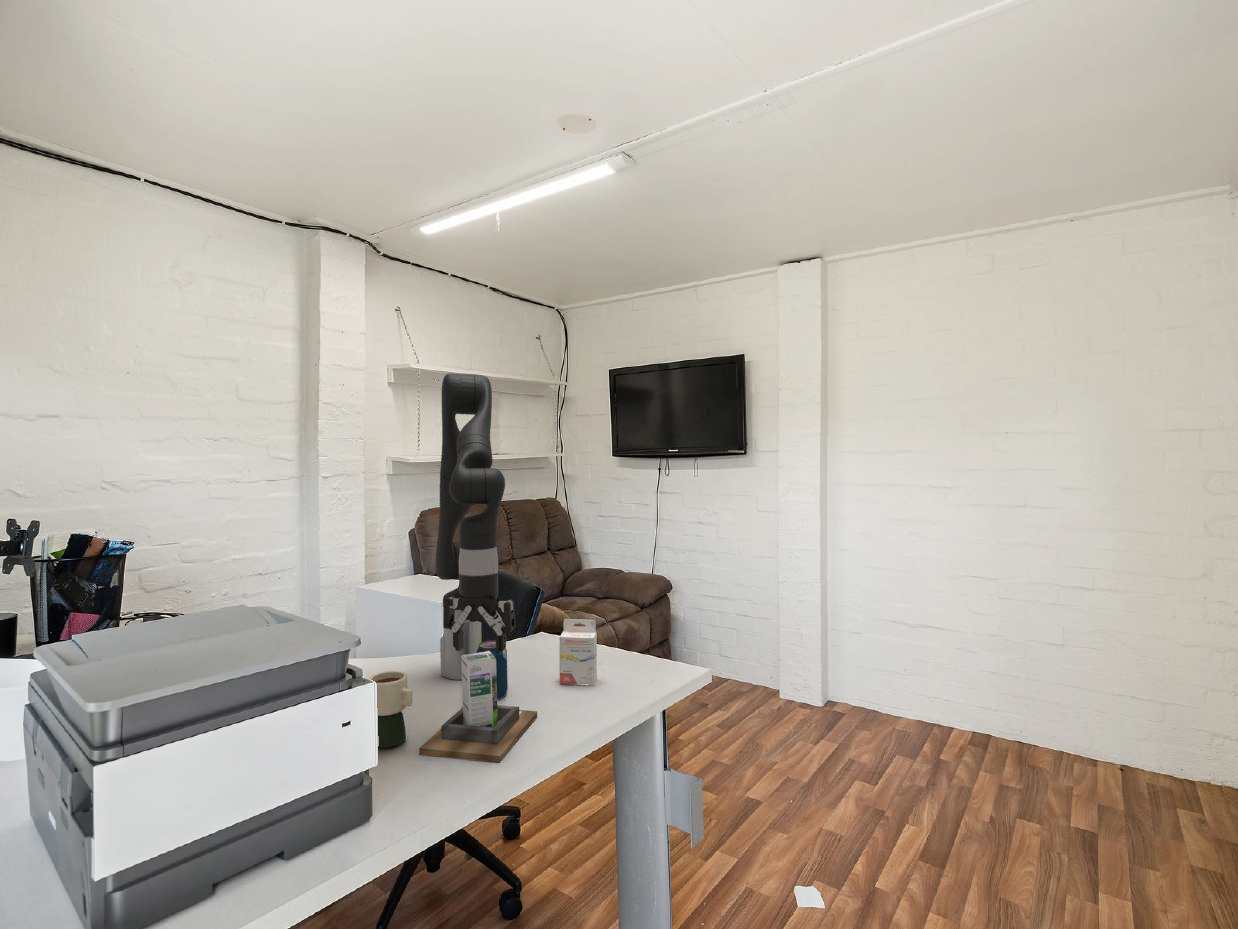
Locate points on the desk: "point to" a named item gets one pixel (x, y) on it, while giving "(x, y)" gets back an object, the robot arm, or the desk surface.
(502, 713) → the base board
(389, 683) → the character mug
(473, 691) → the syrup box
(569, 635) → the ink cartridge box
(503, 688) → the soda can
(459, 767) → the desk surface
